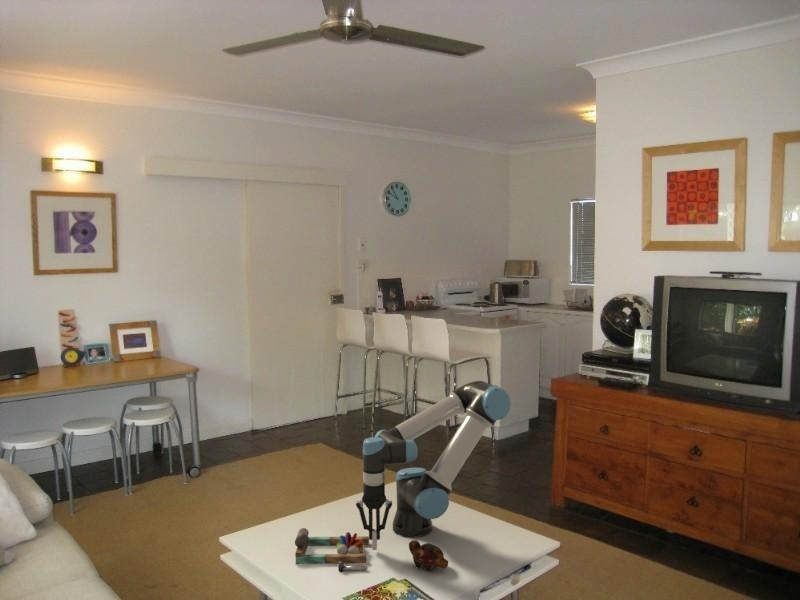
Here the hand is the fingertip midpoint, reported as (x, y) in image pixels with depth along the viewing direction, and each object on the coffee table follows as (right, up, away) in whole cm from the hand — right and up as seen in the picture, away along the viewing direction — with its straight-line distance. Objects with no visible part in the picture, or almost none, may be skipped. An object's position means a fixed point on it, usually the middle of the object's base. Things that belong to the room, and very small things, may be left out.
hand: (374, 548), depth 235 cm
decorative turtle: (+18, -3, -11) cm, 22 cm away
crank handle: (-7, -3, -13) cm, 15 cm away
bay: (-15, -2, 0) cm, 15 cm away
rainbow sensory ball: (-9, -2, +1) cm, 9 cm away
